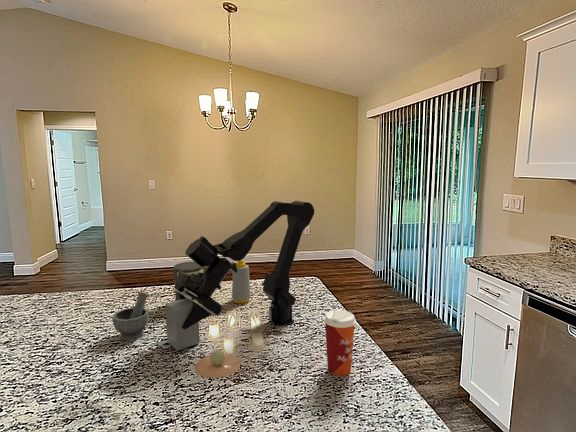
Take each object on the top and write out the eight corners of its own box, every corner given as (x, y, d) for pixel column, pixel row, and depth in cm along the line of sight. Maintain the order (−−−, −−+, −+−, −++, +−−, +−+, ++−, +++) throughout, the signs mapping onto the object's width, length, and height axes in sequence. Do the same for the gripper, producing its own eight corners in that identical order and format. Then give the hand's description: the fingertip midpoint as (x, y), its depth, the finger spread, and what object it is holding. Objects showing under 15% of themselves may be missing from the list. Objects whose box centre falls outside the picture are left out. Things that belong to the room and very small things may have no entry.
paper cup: (347, 382, 87) (348, 324, 85) (318, 372, 91) (318, 317, 89) (360, 366, 94) (361, 313, 92) (332, 358, 98) (332, 306, 96)
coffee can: (169, 304, 135) (167, 266, 133) (191, 296, 144) (190, 260, 142) (188, 311, 129) (186, 271, 127) (210, 302, 138) (209, 264, 136)
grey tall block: (189, 334, 107) (187, 297, 106) (199, 343, 103) (197, 304, 101) (167, 341, 103) (165, 303, 102) (177, 350, 98) (175, 310, 97)
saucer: (235, 355, 100) (234, 337, 99) (245, 378, 89) (244, 357, 89) (192, 363, 96) (191, 344, 95) (197, 387, 86) (196, 366, 85)
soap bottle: (234, 296, 143) (233, 250, 140) (252, 297, 142) (251, 250, 139) (229, 303, 136) (228, 255, 133) (248, 304, 135) (247, 255, 132)
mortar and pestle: (130, 346, 105) (127, 305, 103) (107, 339, 109) (103, 299, 107) (160, 330, 115) (158, 292, 113) (138, 324, 119) (135, 287, 117)
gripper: (178, 254, 109) (142, 299, 104) (210, 267, 95) (170, 321, 90) (204, 274, 115) (171, 319, 110) (237, 290, 101) (201, 342, 96)
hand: (177, 324), depth 101 cm, fingers closed on grey tall block, 6 cm apart
